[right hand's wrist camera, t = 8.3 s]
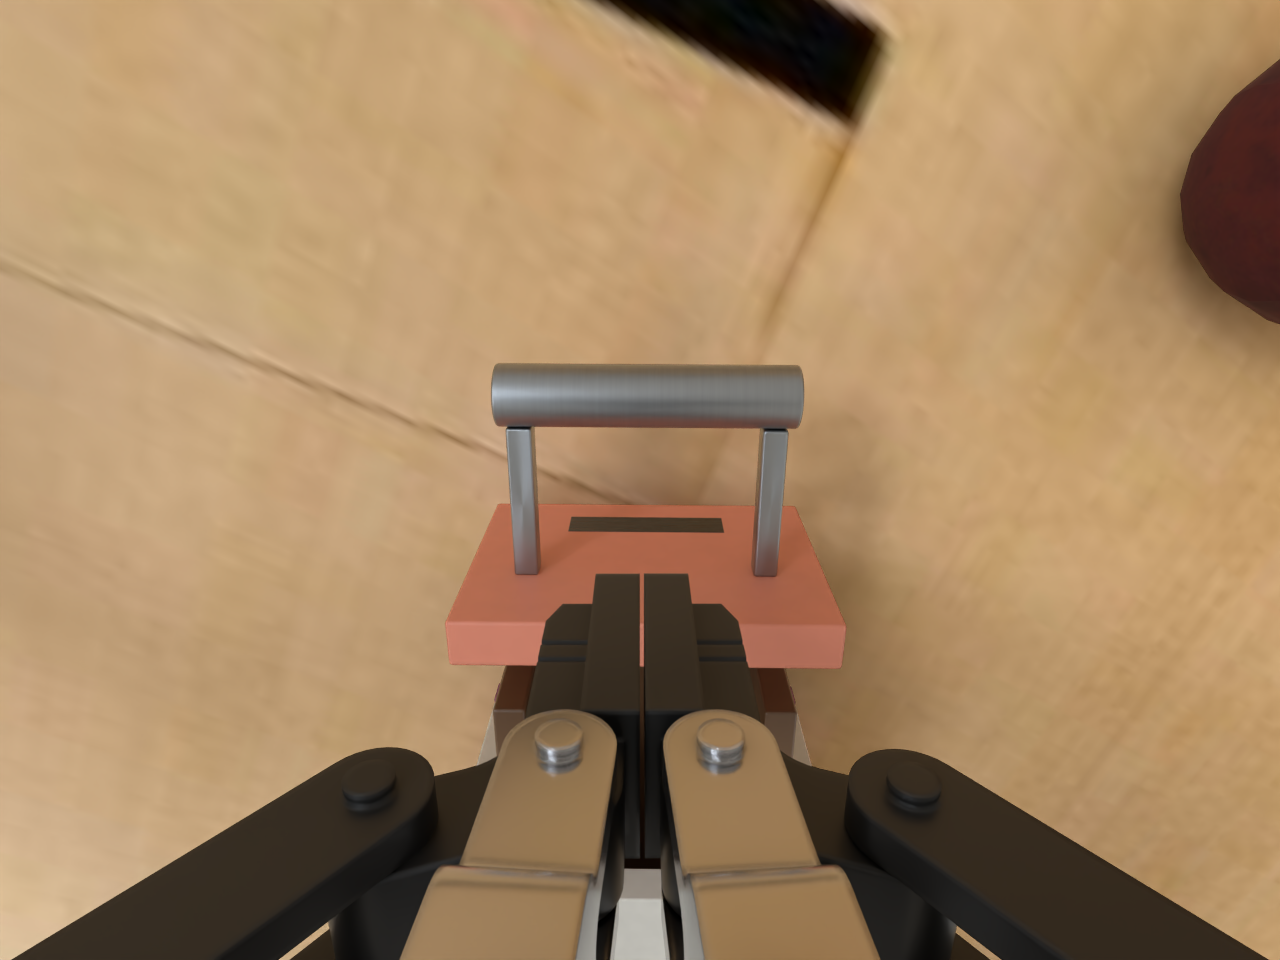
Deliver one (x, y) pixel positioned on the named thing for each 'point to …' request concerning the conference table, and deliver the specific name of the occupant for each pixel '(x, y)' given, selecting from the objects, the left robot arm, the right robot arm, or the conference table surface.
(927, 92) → the conference table surface
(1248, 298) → the potato
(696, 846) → the right robot arm
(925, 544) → the conference table surface
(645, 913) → the cabinet
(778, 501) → the drawer
